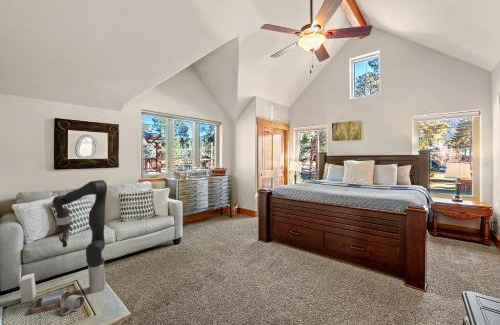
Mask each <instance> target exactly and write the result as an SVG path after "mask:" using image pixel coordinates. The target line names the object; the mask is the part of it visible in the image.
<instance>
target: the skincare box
mask: <svg viewBox="0 0 500 325" xmlns="http://www.w3.org/2000/svg"><path fill="white" fill-rule="evenodd" d="M18 282H19V294H20V301H21V302H20V303H21V304H25V303H28V302H33V301H34V299H35V297H36V295H37V289H36V279H35V273H34V272H33V273H30V274H26V275H22V277H21V278H20V280H19V281H18Z"/></svg>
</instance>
